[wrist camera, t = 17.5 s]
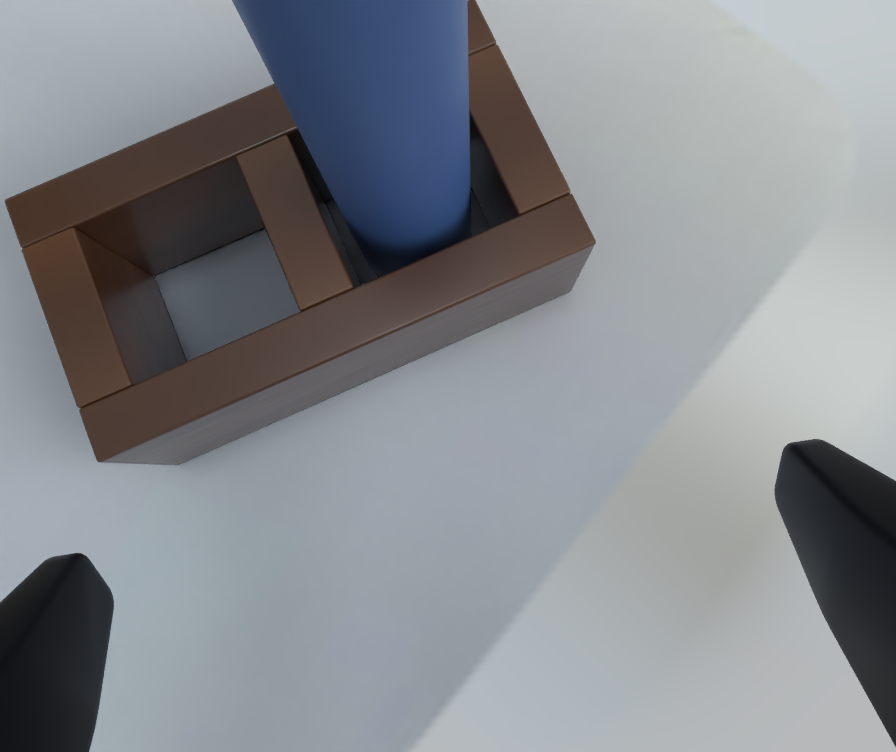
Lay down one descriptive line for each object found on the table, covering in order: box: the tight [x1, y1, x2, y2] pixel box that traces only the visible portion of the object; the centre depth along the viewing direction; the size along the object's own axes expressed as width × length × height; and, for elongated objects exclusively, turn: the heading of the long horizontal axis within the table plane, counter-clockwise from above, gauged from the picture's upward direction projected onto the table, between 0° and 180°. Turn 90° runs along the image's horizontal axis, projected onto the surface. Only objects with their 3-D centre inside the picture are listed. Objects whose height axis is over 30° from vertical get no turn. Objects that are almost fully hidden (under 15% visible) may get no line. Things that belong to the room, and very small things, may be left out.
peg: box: [232, 0, 471, 277], centre depth 12 cm, size 3×3×14 cm
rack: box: [5, 0, 596, 465], centre depth 17 cm, size 7×12×4 cm, turn 114°
